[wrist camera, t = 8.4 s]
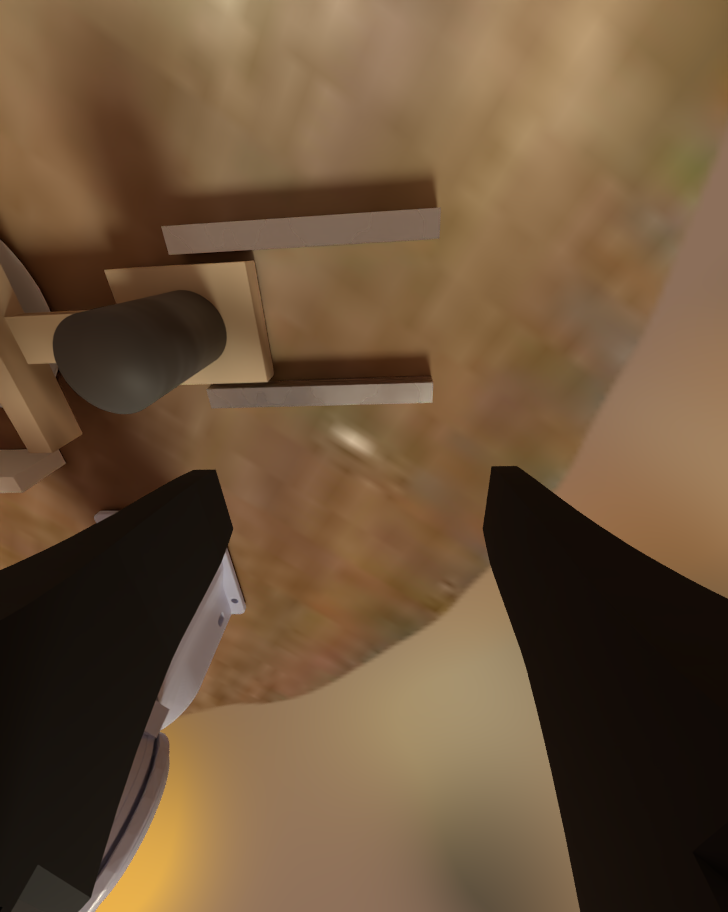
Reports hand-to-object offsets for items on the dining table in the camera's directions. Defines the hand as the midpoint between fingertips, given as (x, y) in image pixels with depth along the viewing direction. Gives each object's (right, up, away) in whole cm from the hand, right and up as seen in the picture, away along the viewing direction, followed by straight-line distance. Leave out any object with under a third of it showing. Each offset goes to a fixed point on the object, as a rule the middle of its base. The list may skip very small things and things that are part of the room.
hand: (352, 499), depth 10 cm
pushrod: (-10, +7, +8) cm, 15 cm away
